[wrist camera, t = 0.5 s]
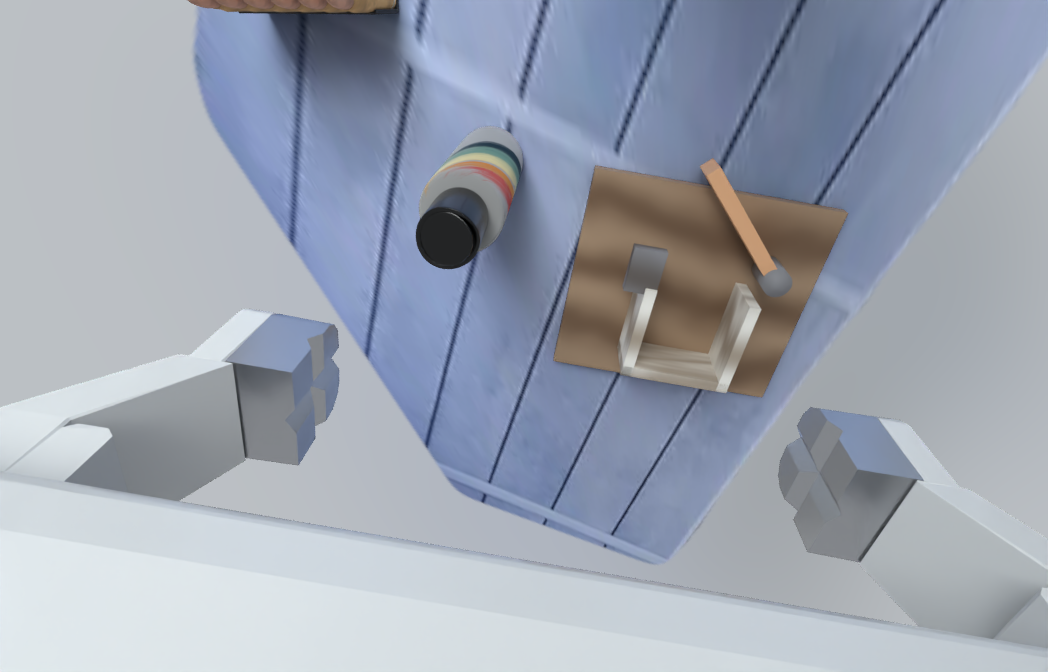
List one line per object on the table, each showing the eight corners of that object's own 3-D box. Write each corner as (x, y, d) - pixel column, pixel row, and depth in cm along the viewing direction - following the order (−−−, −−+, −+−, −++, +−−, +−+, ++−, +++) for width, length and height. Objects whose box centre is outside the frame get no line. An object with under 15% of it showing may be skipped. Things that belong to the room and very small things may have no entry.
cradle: (595, 165, 49) (597, 184, 44) (843, 209, 49) (874, 233, 44) (553, 355, 59) (551, 389, 54) (759, 391, 60) (776, 428, 54)
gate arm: (784, 271, 51) (797, 288, 48) (758, 284, 52) (770, 302, 49) (719, 153, 46) (729, 164, 43) (693, 170, 47) (700, 182, 44)
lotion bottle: (500, 203, 51) (461, 303, 34) (447, 165, 50) (379, 250, 33) (536, 151, 49) (514, 232, 32) (482, 110, 48) (428, 171, 30)
